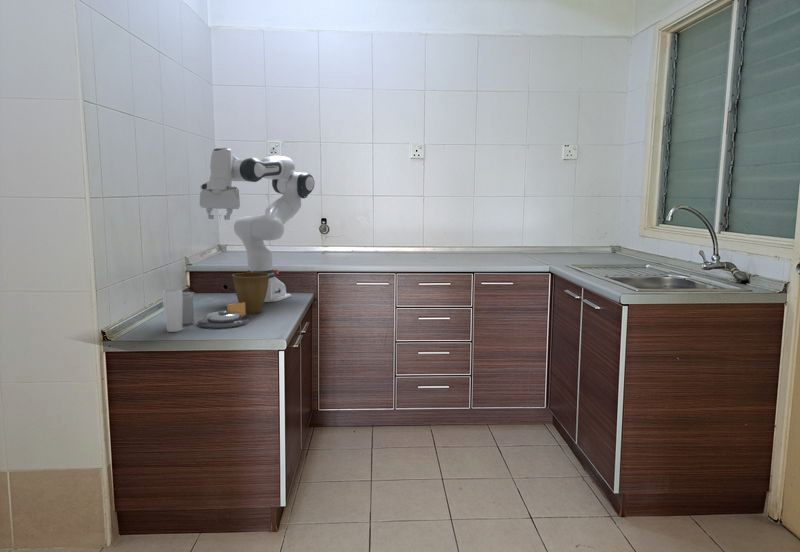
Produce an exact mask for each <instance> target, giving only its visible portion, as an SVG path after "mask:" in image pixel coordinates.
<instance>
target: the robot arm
mask: <svg viewBox="0 0 800 552" xmlns="http://www.w3.org/2000/svg"><path fill="white" fill-rule="evenodd" d="M209 165H210V166H209V170H210V176H209V180H207V181H206V182H205V183H202V184H201V185H200V186H199V187H200V190H201V191H200V193H199V206H200V208H201V209H206V210H205V211H206V214H207V215H208V216H207V219H208V220H214V218H215V215H214V214H213V213H212V212H213V209H216V210H217V209H218V210H220V209H222V210H226V214H225V215H224V220H226V221H230V220H231V215H232V213H233V210H239V209H240V207H241V199H240V190H239V189H238V188H237V187H236V186H232V183H233V182H249V183H256V182H259V181H260V180H262V179H267V180H271V186H272V189H273V190H274V192H276V193H277V194H281V197H279V198H277V199H275V201H273V202H272V203H271V204H269V205H268V206H266V208H265V209H264V215H246V216H241V217H238V218H237V219H236V220H235V222H234V225H233V229H234V233H235V235H236V236H237V237H238V238H239V239H240V240H241V242H242V244H243V246H244V248H245V250H246V258H247V271H246V273H267V274H269V282H268V288H267V293H266V297H265V300H264V303H267V302H268V303H269V302H272V303H273V302H279V301H282V300H285V299H288V298H290V297H292V294H290V293H287V287H286V284H285V283H284V282H283V281H281V280H279V278H277V277H276V274H277V275H278V274H279V273H280V271H279V269H273V254H272V251H271V250H270V249H269V248H268V247H266V245H265V243H264V241H274V240H279V239H281V238H282V237H283V235H284V232H285V225H284V224H286V223H288V221H290V219H292V218H294V216H295V215H296V214H297V213H298V212H299V210H300V209H301V207H302V199H306V198H308V195H310V194H312V191H313V190H314V188H315V183H316V182H315V179H314V177H313V175H312V174H311V173H308V172H305V171H304V172H299V171H298V172H297V171H295V169H296V165H295V162H294V161H293V160H292V158H291V157H289V156H284V155H269V156H264V157H263V158H262V159H261V160H260V159H259V158H256V157H250V158H238V157H236V156H235V154H234V153H233V152H232V149H231V148H228V147H220V148H219V147H218V148H217V147H216V148H214V149H213V150H212V151H211V156H210V164H209Z"/></svg>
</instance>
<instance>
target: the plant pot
mask: <svg viewBox="0 0 800 552" xmlns="http://www.w3.org/2000/svg"><path fill="white" fill-rule="evenodd" d="M232 280H233V286H234V290H235V294H236V298H237V301H238V302H245V312H246V315H247V314H252V315H253V314H259V313H261V312H262V310H263V306H264V303H265V302H264V300H265V297H266V293H267V288H268V282H269V274H267V273H247V272H241V273H240V272H239V273H234V274H232Z"/></svg>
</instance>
